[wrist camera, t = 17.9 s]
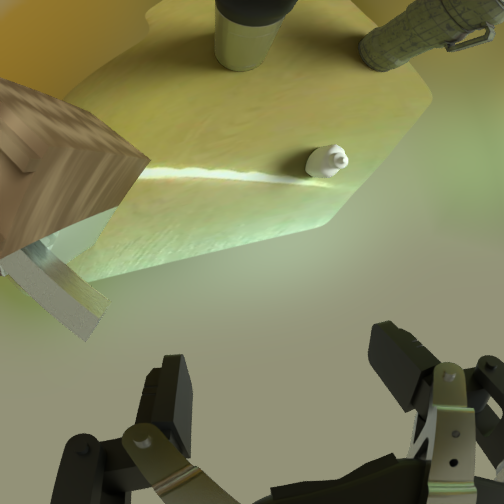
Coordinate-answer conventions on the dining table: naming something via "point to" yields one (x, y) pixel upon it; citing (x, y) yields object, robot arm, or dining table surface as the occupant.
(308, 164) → the eye dropper bottle
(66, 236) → the light grey box
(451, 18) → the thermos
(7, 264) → the bar
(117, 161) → the tall wooden box
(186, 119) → the dining table surface
